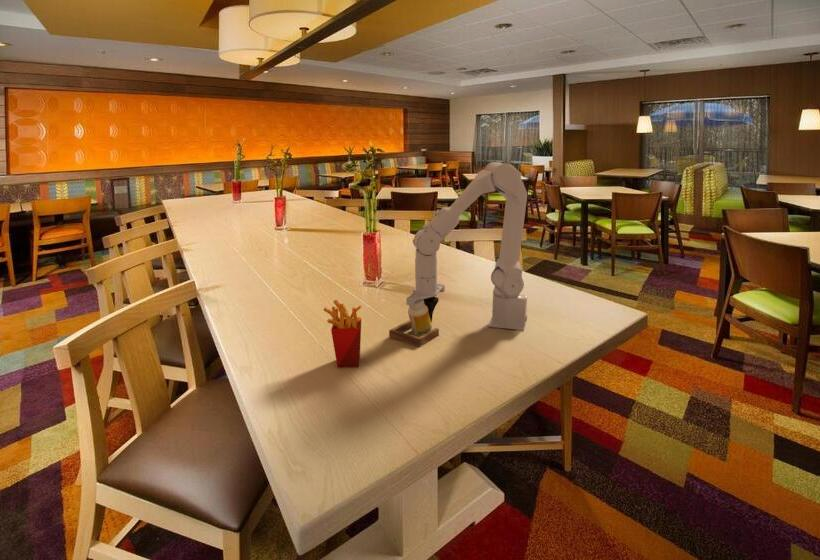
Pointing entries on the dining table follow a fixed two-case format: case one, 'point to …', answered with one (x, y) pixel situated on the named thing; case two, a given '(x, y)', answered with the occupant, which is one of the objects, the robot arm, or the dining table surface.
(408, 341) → the brown wooden u-shaped frame
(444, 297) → the dining table surface
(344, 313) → the french fries
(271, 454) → the dining table surface
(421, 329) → the supplement bottle
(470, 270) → the dining table surface
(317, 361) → the dining table surface
